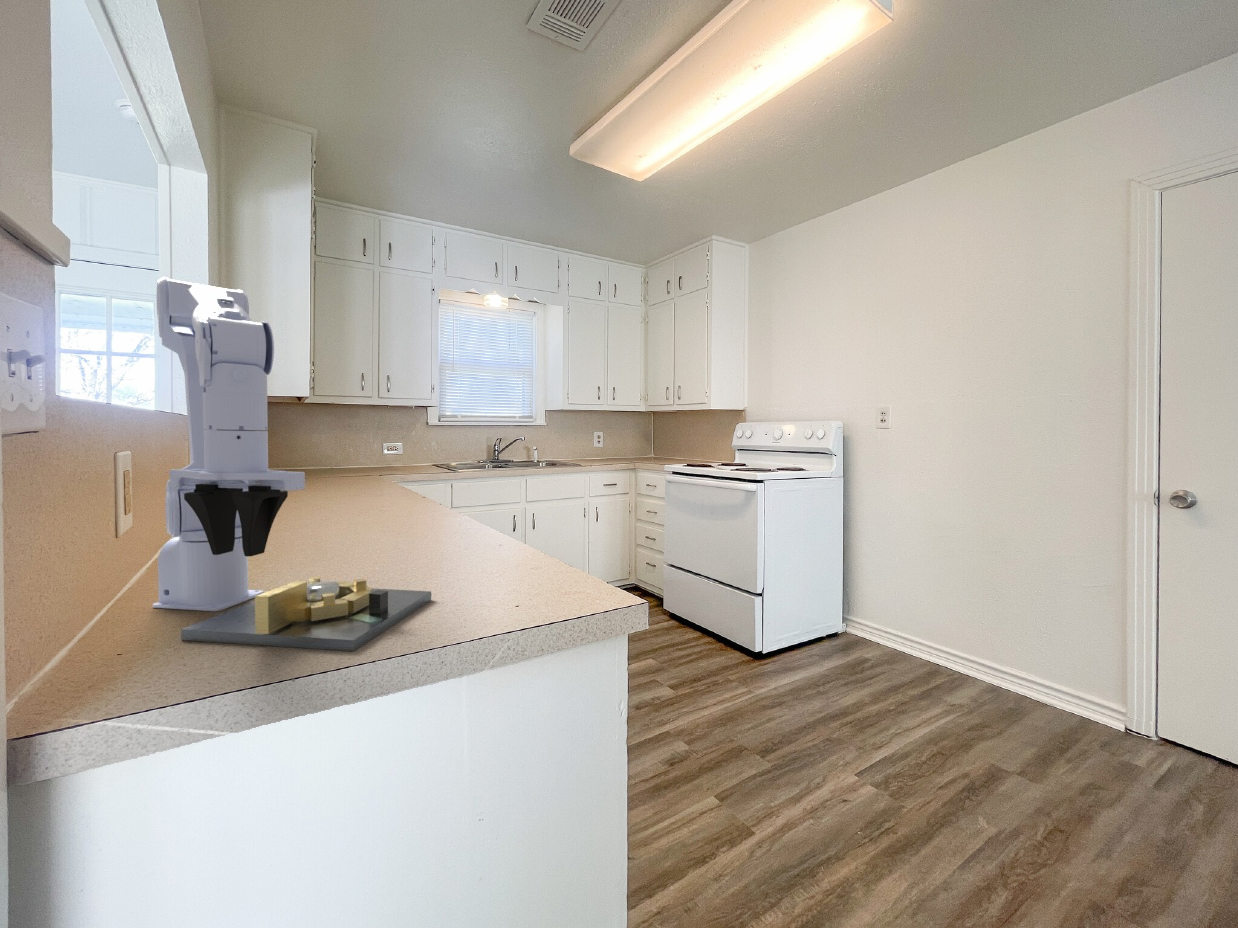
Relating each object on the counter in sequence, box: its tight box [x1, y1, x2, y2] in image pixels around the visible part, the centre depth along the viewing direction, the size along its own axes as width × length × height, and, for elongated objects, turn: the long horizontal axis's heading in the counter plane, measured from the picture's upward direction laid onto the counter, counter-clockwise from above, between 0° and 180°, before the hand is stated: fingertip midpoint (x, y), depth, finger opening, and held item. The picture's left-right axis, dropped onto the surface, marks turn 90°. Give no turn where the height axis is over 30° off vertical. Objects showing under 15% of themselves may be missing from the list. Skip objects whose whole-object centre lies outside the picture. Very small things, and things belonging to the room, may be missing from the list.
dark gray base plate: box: [180, 580, 432, 652], centre depth 66 cm, size 20×18×4 cm
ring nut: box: [254, 575, 372, 634], centre depth 64 cm, size 15×11×4 cm
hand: (238, 553), depth 59 cm, fingers open, 3 cm apart
